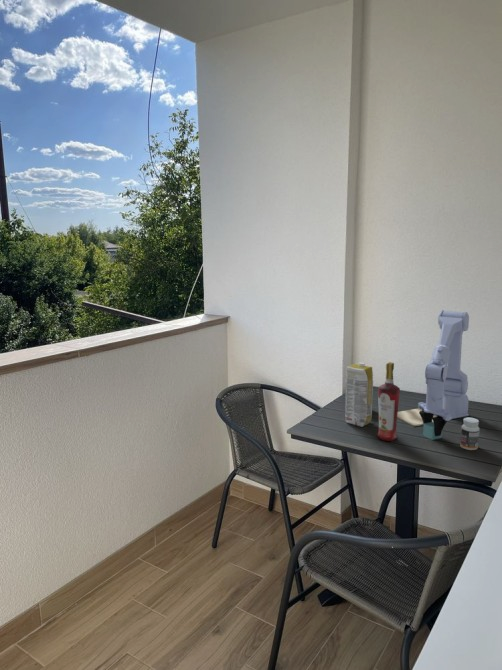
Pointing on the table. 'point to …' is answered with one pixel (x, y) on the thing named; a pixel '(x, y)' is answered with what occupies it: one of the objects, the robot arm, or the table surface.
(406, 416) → the birch board
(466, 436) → the pill bottle
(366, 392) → the juice carton
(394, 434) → the liquor
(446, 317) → the robot arm
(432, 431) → the teal cube
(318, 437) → the table surface
